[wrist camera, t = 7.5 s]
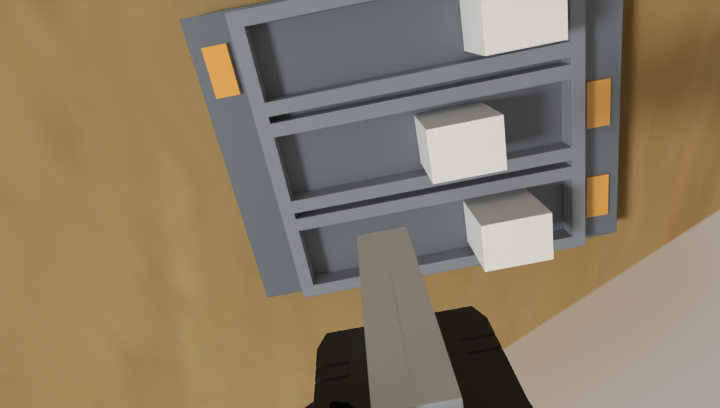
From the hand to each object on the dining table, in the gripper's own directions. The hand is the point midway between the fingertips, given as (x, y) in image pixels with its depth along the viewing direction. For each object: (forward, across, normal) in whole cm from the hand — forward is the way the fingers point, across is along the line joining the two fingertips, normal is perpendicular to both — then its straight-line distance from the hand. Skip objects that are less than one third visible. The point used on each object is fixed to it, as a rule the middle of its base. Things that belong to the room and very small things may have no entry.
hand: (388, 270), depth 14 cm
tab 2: (+15, +9, +6) cm, 18 cm away
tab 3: (+15, +8, -6) cm, 18 cm away
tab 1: (+15, +5, 0) cm, 16 cm away
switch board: (+16, +4, 0) cm, 17 cm away
